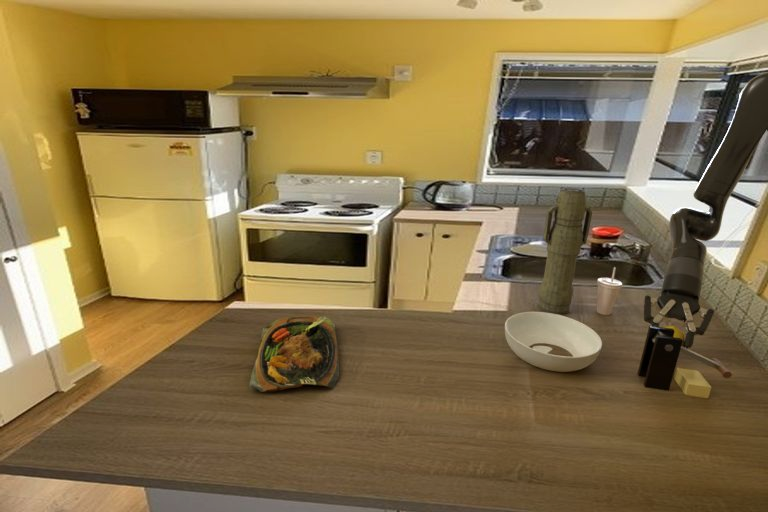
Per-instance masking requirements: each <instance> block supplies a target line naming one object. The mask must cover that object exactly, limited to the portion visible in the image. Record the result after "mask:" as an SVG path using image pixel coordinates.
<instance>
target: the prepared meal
mask: <svg viewBox="0 0 768 512" xmlns="http://www.w3.org/2000/svg"><path fill="white" fill-rule="evenodd" d="M260 336H261V337H260V341H259V346H258V349H257V355H256V358H255V362H254V365H253V368H252V372H251V376H250V379H249V384H248V389H256V390H258V391H259V392H260V393H271V392H272V393H274V392H280V391H283V390H286V389H293V388H300V387H302V386H303V385H313V386H321V387H322V386H323V387H327V388H330V389H333V388H334V386H335V384H336V383H337V381H338V380H339V377H340V363H339V362H340V361H339V349H338V340H337V331H336V325H335V322H333V321H331V319H330V318H329V317H327V316H295V317H293V316H291V317H280V318H278V319H276V320H274V321H272V322H270V323H269V324H268V325H267V326H266V327H265V328H264V327H263V328H262V331H261V335H260Z"/></svg>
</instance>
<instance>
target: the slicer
mask: <svg viewBox="0 0 768 512" xmlns="http://www.w3.org/2000/svg"><path fill="white" fill-rule="evenodd" d="M658 331H660V332H663V333H665V334H667V335H669V336H671V337H667V336H660V335H656V333H657V332H658ZM674 332H675V331H674V329H670V328H664V327H663V326H662V327H661V326H659V327H654V326H651V325H649V326H648V330H647V334H646V338H645V342H644V346H643V350H642V354H641V357H640V360H639V361H640V362H639V366H638V370H637V376H638V377H639V378H644V381H643V386H644V388H646V389H647V388H648V389H654V390H660V391H665V392H669V391H670V388H671V384H672V381H673V379H674V375H675V372H676V368H677V363H678V359H679V356H680V353H681V352H680V349H681V346H682V342H683V340H682V339H681V338H675V337H673V336H674ZM655 335H656V338H655V342H653V341H652V339H653V337H654V336H655Z"/></svg>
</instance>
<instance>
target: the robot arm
mask: <svg viewBox="0 0 768 512" xmlns="http://www.w3.org/2000/svg"><path fill="white" fill-rule="evenodd" d="M766 132H768V72H764V73H761V74H758V75H756V76H754V77H753V78H752V79H750V80H749V81H747V83H746V84H745V85H744V86H743V87H742V89H741V91H740V93H739V98H738V102H737V105H736V109H735V112H734V114H733V117H732V121H731V123H730V125H729V127H728V130H727V132H726V134H725V136H724V138H723V140H722V142H721V144H720V145H719V147H718V149H717V150H716V152H715V154H714V155H713V157H712V158H711V160H710V162H709V164H708V165H707V167H706V169H705V171H704V173H702V176H701V178H700V180H699V182H698V184H697V185H696V188H695V189H694V191H693V198H694V199H695V200H696V201H698V202H700V203H702V204H705V205H706V206H708V207H709V209H708V212H707V211H703V210H699V209H695V208H692V207H687V206H684V207H683V206H682V207H679V208H677V209H676V210H675V211H673V213H672V214H671V216H670V218H669V222H668V223H669V225H668V226H669V234H670V240H671V241H670V242H671V252H670V257H669V261H668V264H667V266H666V269H665V273H664V275H663V276H664V278H663V281H662V286H661V291H660V295H659V296H658V297H652V296H650V295H645V296H644V300H643V321H644V323H645V322H646V323H649V324H650V326H654V327H660V323H662V322H663V321H664V320H665V318H669V319H675V320H677V321H681V322H683V325H684V327H685V329H686V334H685V336H684V347H685V348H687V349H691V348H692V346H693V345H694V340H695V336H698V335H699V336H704V335H705V333H706V331H707V330H708V328H709V325H710V323H711V320H712V318H713V316H714V314H715V309H712V308H708V309H706V308H704V307H702V306H701V305H700V297H701V291H702V286H703V280H704V274H705V271H704V270H705V269H704V268H705V263H706V257H707V252H708V250H707V246H706V245H705V243H703V242H709V241H711V240H713V239H714V238H715V237H717V236H718V234H719V233H720V231H721V227H722V221H723V216H724V212H725V208H726V206H727V203H728V200H729V198H730V197H731V195H732V194H733V193H734V190H735V188H736V187H737V185H738V183H739V182H740V180H741V178H742V176H743V174H744V172H745V170H746V168H747V166H748V164H749V162H750V159H751V157H752V155H753V153H754V152H755V149H756V148H757V146H758V144H759V142H760V141H761V140H762V138H763V136H764V135H765V133H766ZM655 304H657V306H658V307H659V309H660V311H659V312H658V313H657V315H655V317H654V316H652V307H654V306H655ZM696 314H700V316H699V317H700V318H701V319H702V321H701V323H700V325H699V326H696V325H695V321H694V317H693V316H694V315H696Z"/></svg>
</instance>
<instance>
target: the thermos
mask: <svg viewBox="0 0 768 512" xmlns="http://www.w3.org/2000/svg"><path fill="white" fill-rule="evenodd" d="M587 201H588V200H587V196H586V192H585V191H584V190H582V189H580V188H579V189H578V188H568V187H567V188H563V189H561V190H560V192H559V194H558V196H557V198H556V201H555V205H552V206H550V207H549V208H548V210H547V211H546V217H545V224H544V230H543V238H542V240H543V241H544V242H545V243H546V251H547V254H546V261H545V266H544V274H543V280H542V282H541V283H540V287H539V292H538V303H537V307H538V308H539V310H542V311H543V312H545V313H552V314H557V315H565V314H568V313H569V312H570V306H571V303H572V300H573V295H574V294H573V293H574V287H573V283H574V277H575V272H576V266H577V261H578V260H577V259H578V257H579V255H580V254H581V249H582V247H583V245H586V244H587V241H588V237H589V232H590V228H591V222H592V217H593V212H592V209H591V208H590V207H588V206H587V203H588V202H587ZM553 217H554V218H553ZM583 221H584V223H583Z"/></svg>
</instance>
